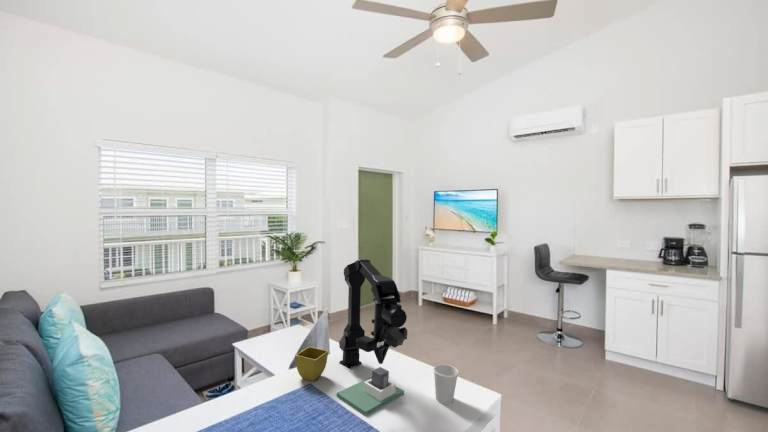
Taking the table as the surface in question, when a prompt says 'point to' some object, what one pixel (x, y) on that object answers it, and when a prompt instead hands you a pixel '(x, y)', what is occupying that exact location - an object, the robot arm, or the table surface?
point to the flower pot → (311, 362)
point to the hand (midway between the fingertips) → (380, 363)
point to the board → (369, 396)
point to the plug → (380, 378)
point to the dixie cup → (445, 383)
